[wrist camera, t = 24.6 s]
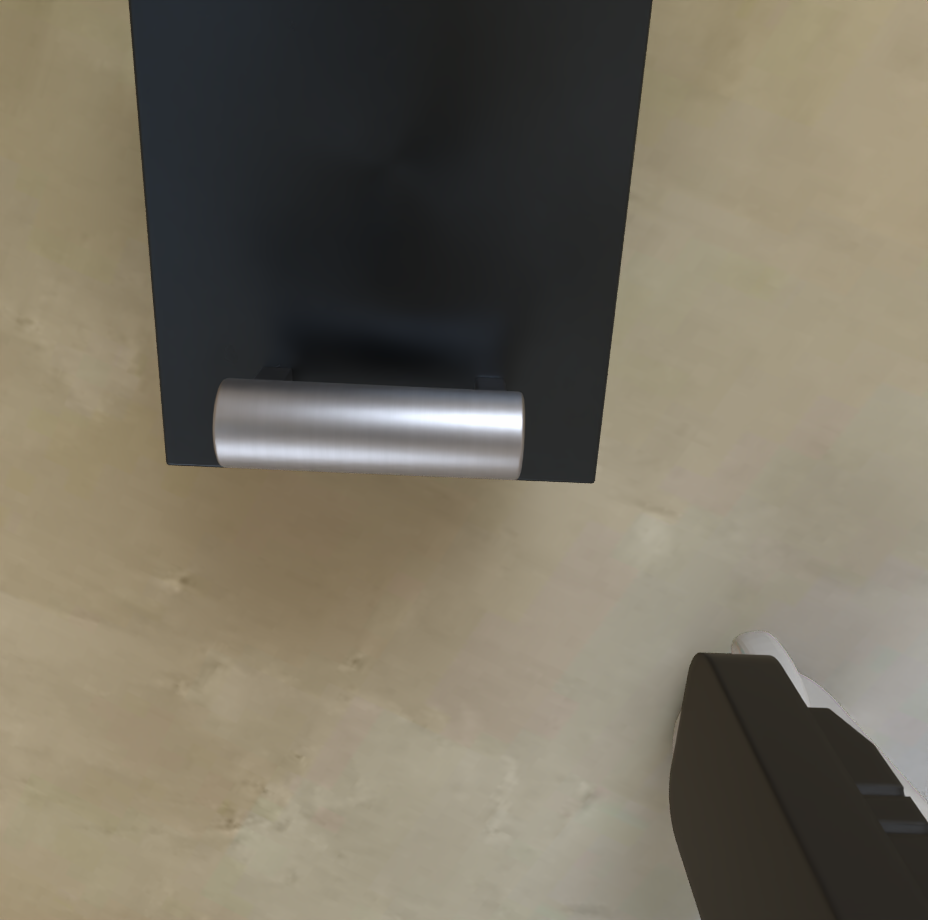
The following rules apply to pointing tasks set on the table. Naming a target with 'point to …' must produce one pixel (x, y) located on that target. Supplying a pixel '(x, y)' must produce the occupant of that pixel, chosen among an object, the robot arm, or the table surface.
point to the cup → (809, 696)
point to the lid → (387, 229)
